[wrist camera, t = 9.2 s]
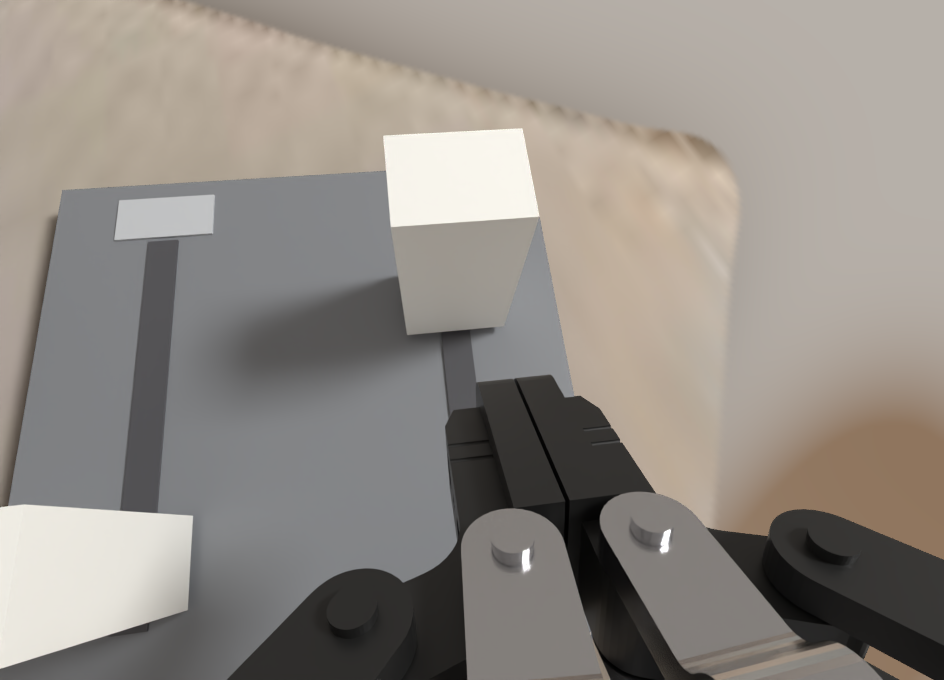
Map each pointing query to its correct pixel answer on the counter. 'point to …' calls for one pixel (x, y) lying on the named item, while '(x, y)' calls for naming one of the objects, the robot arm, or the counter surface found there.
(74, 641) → the tab inner
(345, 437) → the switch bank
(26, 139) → the counter surface
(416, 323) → the block
